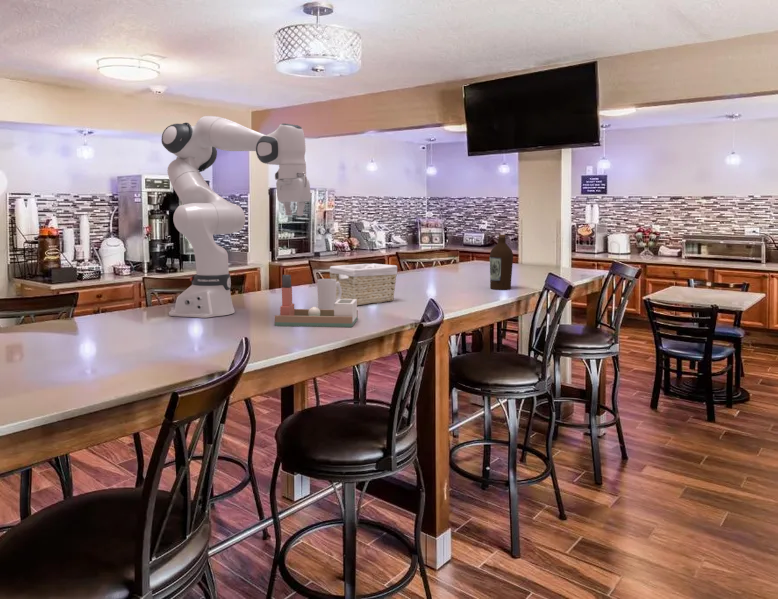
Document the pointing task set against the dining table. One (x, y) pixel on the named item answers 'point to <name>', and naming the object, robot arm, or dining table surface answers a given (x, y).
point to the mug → (327, 293)
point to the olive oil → (501, 265)
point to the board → (323, 316)
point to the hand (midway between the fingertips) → (294, 215)
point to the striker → (287, 297)
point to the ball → (314, 311)
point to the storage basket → (365, 282)
